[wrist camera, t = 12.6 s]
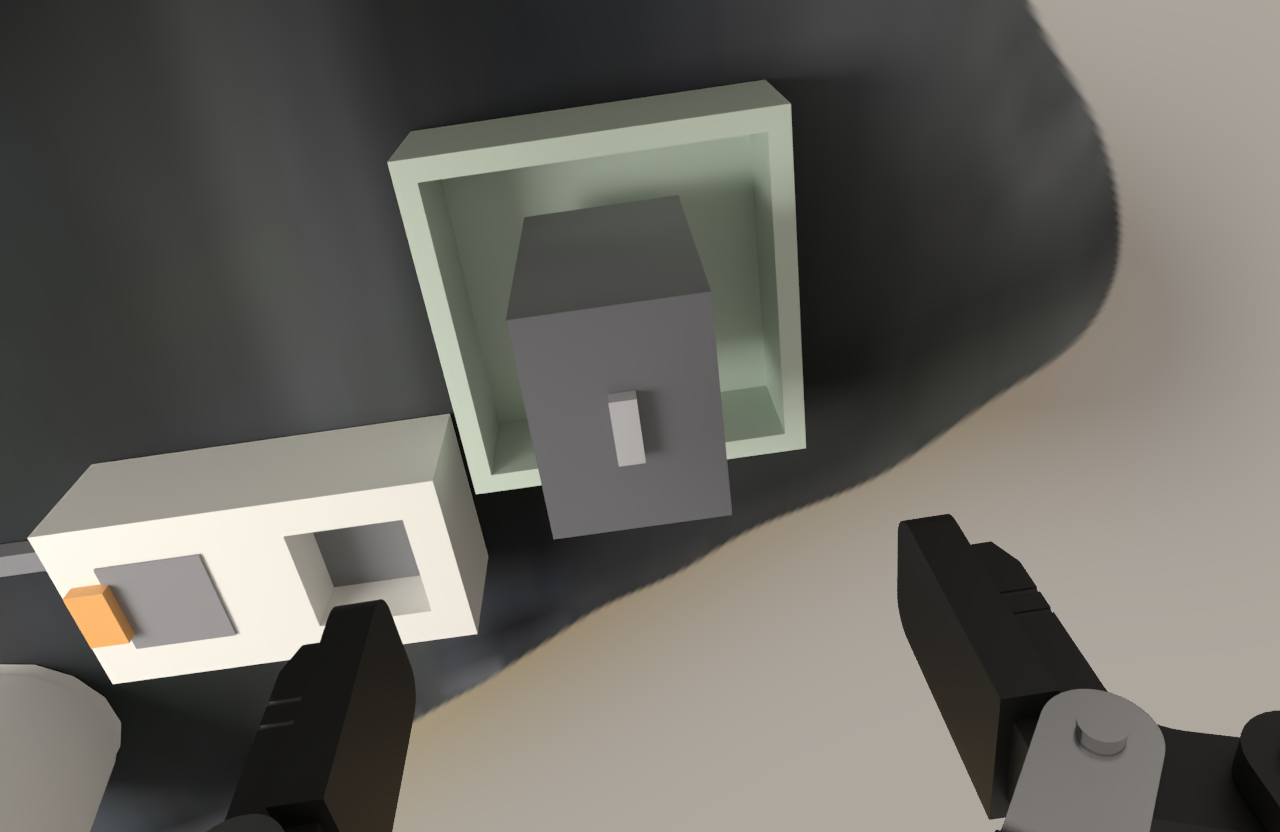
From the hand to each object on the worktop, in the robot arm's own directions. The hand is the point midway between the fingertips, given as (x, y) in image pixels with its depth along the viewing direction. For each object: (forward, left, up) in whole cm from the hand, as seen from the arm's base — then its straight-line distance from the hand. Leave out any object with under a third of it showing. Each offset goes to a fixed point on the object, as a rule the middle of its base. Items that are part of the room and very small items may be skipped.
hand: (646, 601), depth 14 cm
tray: (0, 0, -15) cm, 15 cm away
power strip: (+7, -15, -15) cm, 23 cm away
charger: (0, 0, -15) cm, 15 cm away
